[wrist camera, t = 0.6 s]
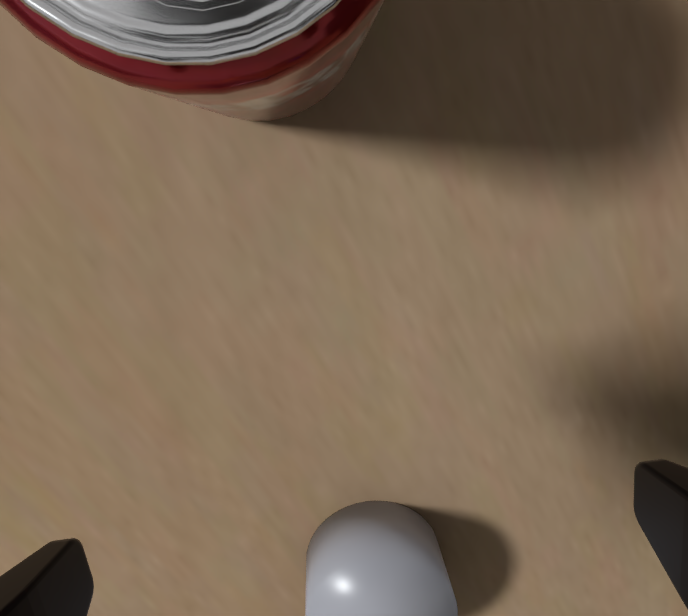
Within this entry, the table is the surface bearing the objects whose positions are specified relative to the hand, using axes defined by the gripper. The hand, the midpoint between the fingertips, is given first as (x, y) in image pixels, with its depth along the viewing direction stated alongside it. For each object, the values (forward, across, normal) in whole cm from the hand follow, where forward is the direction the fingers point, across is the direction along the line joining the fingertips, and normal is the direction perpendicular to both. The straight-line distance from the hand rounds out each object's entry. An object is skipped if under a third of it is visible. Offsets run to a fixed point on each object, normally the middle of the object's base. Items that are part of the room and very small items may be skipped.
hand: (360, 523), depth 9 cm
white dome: (+13, 0, +12) cm, 18 cm away
